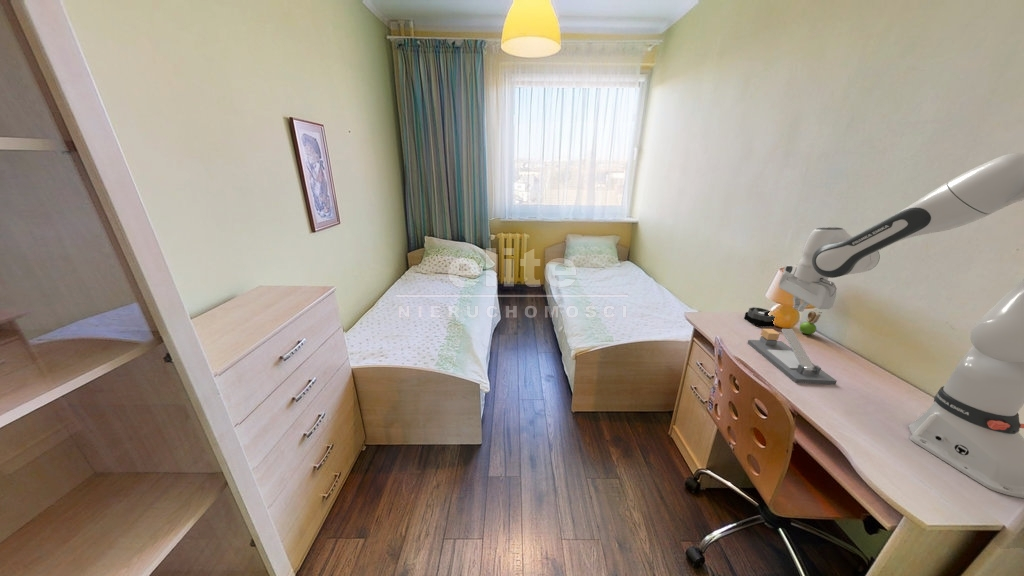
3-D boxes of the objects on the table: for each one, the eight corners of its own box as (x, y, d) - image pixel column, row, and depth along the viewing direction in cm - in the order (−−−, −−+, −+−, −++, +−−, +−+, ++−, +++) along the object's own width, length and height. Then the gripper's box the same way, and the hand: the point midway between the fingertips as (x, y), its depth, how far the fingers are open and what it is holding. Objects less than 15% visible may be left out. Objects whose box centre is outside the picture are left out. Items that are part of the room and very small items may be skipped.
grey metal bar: (814, 372, 112) (817, 370, 111) (802, 371, 112) (805, 369, 111) (790, 330, 123) (793, 328, 122) (780, 330, 123) (782, 328, 122)
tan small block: (777, 340, 129) (779, 333, 128) (767, 339, 129) (769, 333, 128) (770, 335, 133) (772, 329, 132) (760, 334, 133) (762, 328, 132)
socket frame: (835, 384, 109) (839, 374, 108) (795, 382, 110) (799, 372, 108) (780, 344, 133) (783, 335, 132) (747, 342, 134) (750, 334, 132)
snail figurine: (803, 336, 140) (813, 311, 135) (795, 329, 145) (804, 305, 141) (818, 338, 138) (828, 312, 134) (809, 331, 144) (818, 306, 140)
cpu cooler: (743, 306, 155) (765, 307, 155) (740, 317, 157) (761, 317, 157) (759, 316, 145) (781, 316, 145) (755, 327, 147) (777, 328, 147)
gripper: (848, 284, 102) (831, 323, 108) (798, 265, 121) (786, 298, 127) (827, 284, 103) (811, 322, 108) (781, 264, 122) (769, 298, 127)
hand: (797, 309), depth 117 cm, fingers closed
